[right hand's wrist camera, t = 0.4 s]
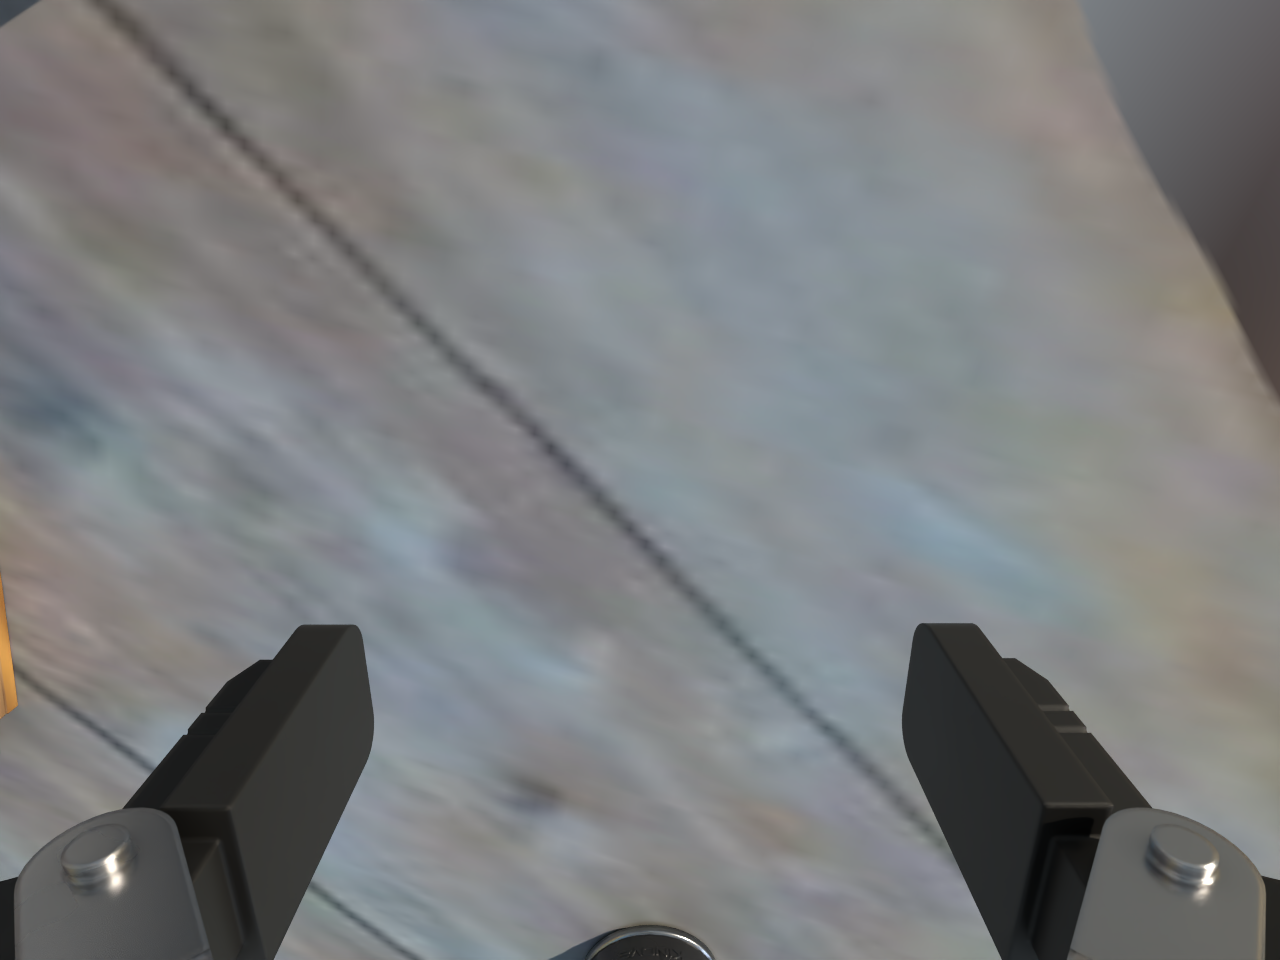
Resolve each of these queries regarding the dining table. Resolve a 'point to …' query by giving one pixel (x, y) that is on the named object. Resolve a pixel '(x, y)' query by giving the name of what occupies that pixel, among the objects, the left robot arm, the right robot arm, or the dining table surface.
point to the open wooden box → (5, 664)
